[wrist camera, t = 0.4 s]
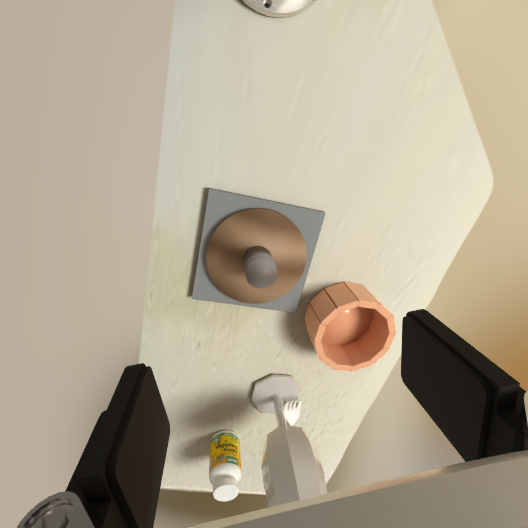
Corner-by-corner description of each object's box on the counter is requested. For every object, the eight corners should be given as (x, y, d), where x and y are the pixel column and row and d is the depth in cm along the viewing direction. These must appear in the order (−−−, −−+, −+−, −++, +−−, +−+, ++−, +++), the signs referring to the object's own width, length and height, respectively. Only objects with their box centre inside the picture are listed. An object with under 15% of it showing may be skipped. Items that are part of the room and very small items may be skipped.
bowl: (316, 277, 47) (329, 295, 42) (386, 288, 50) (407, 307, 44) (296, 342, 52) (305, 366, 46) (362, 349, 54) (378, 373, 48)
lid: (215, 198, 40) (214, 207, 35) (316, 218, 43) (330, 230, 37) (199, 293, 45) (196, 315, 39) (291, 306, 48) (300, 328, 42)
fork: (278, 465, 63) (280, 474, 61) (283, 393, 54) (285, 401, 53) (294, 462, 63) (296, 472, 62) (301, 391, 55) (304, 399, 53)
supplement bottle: (209, 449, 58) (206, 505, 50) (211, 428, 56) (209, 482, 48) (237, 449, 59) (240, 504, 50) (241, 428, 57) (244, 481, 49)
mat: (209, 187, 41) (209, 189, 40) (323, 211, 44) (325, 212, 43) (192, 295, 46) (191, 298, 45) (294, 309, 49) (296, 312, 48)
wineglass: (301, 405, 57) (342, 542, 38) (254, 414, 56) (271, 558, 37) (297, 368, 54) (340, 497, 34) (247, 377, 53) (262, 514, 34)
